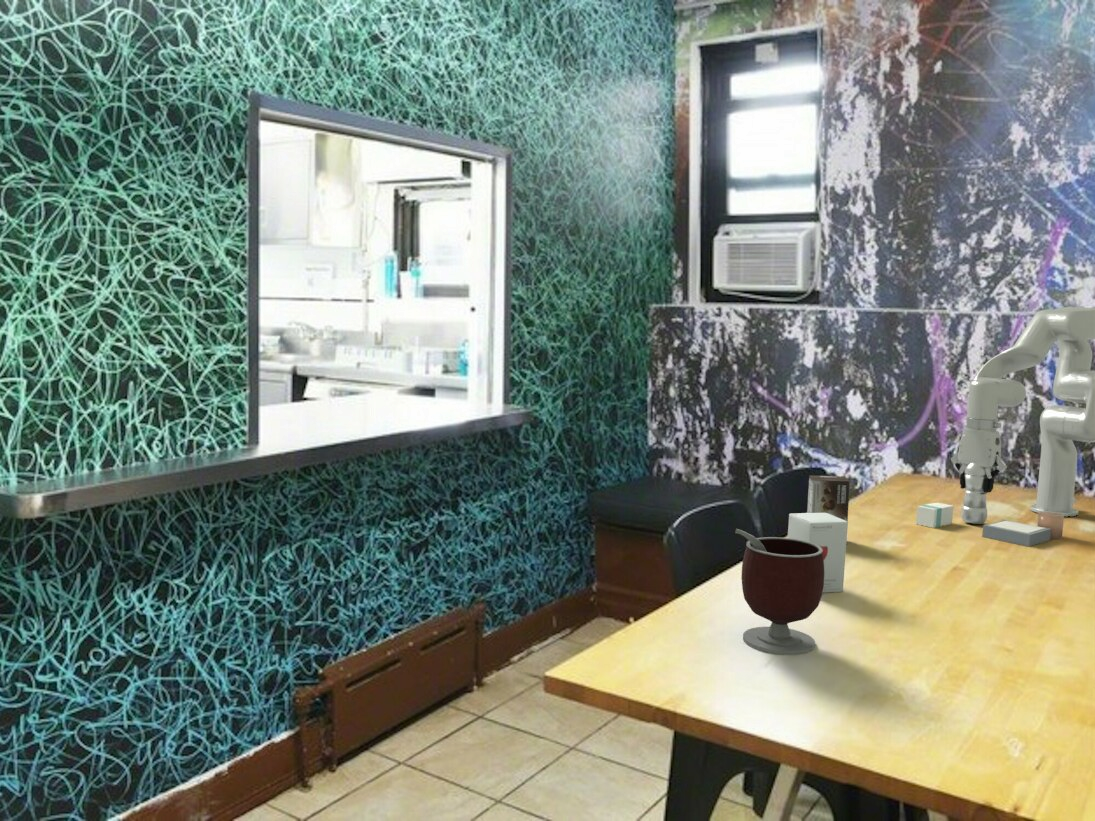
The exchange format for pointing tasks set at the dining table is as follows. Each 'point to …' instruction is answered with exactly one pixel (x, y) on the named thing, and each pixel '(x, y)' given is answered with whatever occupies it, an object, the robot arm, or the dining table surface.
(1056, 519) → the pink smooth rounded part
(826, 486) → the coffee box
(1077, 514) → the robot arm
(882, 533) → the dining table surface
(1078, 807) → the dining table surface
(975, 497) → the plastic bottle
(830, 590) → the supplement box
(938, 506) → the lying carton
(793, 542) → the mate gourd
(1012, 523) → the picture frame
